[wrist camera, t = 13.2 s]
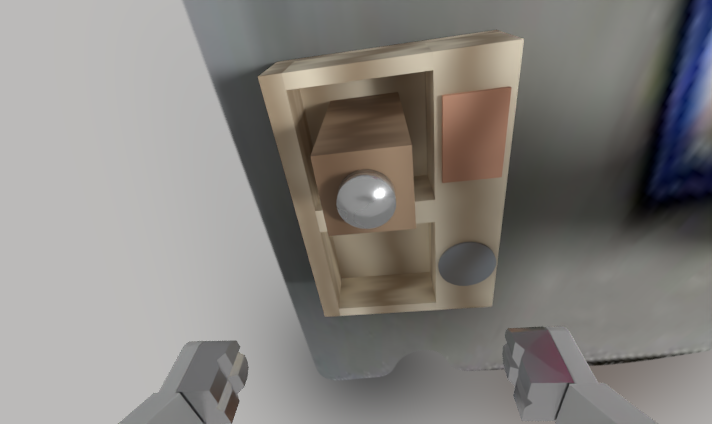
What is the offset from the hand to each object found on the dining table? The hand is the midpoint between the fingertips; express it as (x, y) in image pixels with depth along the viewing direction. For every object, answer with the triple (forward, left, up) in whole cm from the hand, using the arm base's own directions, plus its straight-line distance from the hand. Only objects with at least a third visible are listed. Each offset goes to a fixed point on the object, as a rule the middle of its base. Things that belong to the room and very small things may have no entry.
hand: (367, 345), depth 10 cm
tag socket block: (-5, +3, -20) cm, 21 cm away
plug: (0, 0, -19) cm, 19 cm away
